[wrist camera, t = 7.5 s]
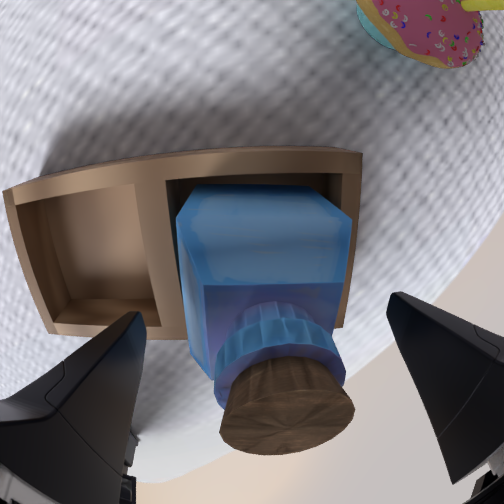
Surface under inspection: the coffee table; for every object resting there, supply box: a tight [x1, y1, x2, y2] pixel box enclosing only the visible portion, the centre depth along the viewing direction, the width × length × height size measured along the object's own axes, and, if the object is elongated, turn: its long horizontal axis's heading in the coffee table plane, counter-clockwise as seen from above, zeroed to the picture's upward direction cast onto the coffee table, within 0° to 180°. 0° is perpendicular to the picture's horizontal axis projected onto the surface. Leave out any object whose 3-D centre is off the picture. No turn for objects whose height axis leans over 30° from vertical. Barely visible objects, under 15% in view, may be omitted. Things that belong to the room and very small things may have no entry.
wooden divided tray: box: [2, 146, 363, 340], centre depth 15 cm, size 20×10×4 cm, turn 92°
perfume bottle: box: [176, 184, 355, 455], centre depth 11 cm, size 6×6×12 cm
